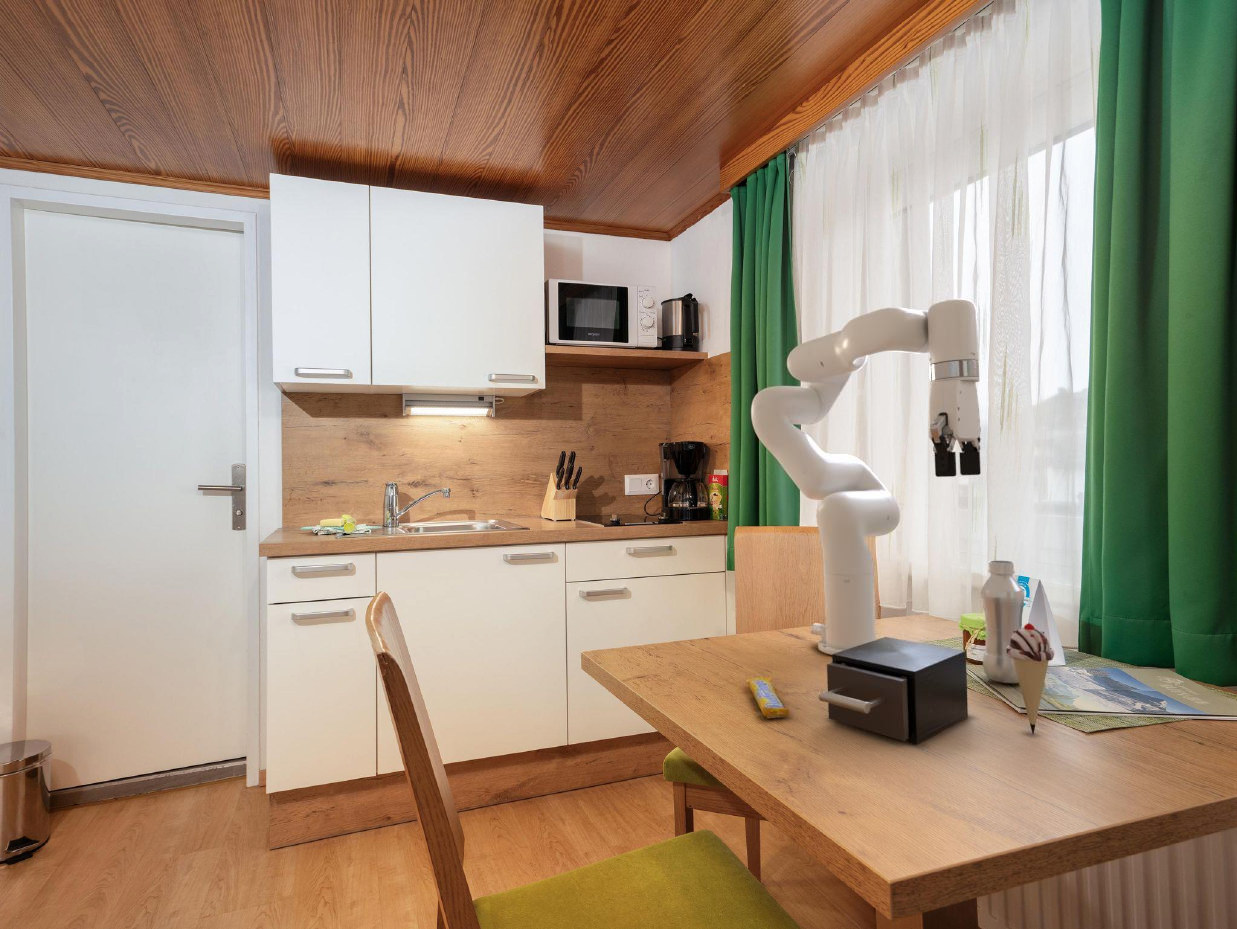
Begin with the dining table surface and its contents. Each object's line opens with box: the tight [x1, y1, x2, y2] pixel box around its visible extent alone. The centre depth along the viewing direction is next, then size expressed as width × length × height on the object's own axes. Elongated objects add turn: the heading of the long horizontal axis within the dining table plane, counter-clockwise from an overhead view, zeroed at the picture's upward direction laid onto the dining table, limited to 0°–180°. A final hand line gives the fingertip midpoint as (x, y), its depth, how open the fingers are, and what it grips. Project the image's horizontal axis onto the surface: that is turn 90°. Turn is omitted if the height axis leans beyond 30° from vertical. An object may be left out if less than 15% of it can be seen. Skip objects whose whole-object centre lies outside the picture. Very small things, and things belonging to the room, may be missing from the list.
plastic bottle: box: [980, 560, 1025, 684], centre depth 117 cm, size 6×7×20 cm
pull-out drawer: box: [818, 662, 911, 742], centre depth 98 cm, size 19×11×8 cm, turn 129°
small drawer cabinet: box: [831, 636, 969, 745], centre depth 102 cm, size 15×13×10 cm
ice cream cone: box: [1006, 622, 1055, 735], centre depth 95 cm, size 6×6×15 cm
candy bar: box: [745, 676, 790, 720], centre depth 111 cm, size 17×4×2 cm, turn 178°
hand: (958, 475), depth 118 cm, fingers open, 9 cm apart
